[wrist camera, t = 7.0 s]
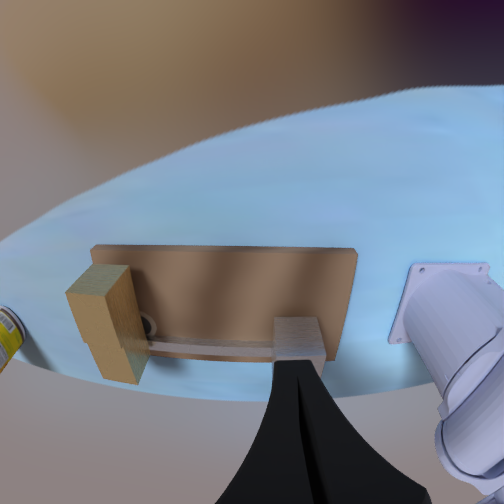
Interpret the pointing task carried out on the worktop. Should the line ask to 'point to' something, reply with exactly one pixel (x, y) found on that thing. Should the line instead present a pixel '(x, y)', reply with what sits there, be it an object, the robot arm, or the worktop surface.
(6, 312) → the supplement bottle
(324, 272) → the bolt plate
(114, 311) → the divider leg
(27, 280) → the worktop surface
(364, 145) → the worktop surface
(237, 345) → the grey piece
